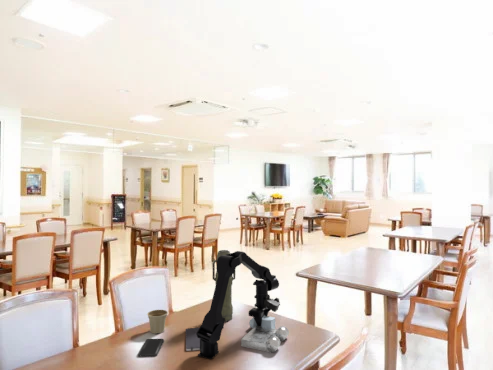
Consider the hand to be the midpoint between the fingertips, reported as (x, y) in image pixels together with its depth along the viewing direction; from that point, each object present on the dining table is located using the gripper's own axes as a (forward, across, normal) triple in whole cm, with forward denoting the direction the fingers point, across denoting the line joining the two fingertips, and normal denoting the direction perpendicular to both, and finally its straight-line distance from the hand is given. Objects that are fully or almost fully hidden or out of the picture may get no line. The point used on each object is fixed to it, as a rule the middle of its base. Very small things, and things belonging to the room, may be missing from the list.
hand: (262, 325), depth 164 cm
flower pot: (+2, -23, +44) cm, 50 cm away
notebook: (+2, -22, +21) cm, 30 cm away
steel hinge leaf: (+1, -13, -7) cm, 15 cm away
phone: (+2, -38, +35) cm, 52 cm away
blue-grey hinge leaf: (+1, 0, 0) cm, 1 cm away
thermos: (+2, +4, +23) cm, 23 cm away
